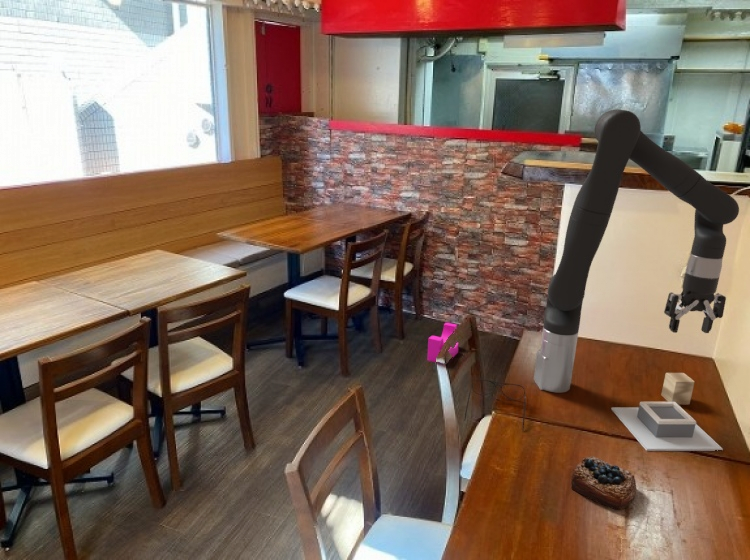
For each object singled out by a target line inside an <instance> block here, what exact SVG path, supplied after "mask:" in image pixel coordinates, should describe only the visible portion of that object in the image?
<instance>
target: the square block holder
mask: <svg viewBox="0 0 750 560" xmlns="http://www.w3.org/2000/svg"><path fill="white" fill-rule="evenodd" d="M611 411H612V413H614V415H616V417H617V418H618V419H619V420H620V422H622V424H623V425H624V426H625V427H626V428H627V430H628V431H629V432H630V433H631V434H632V436H634V438H635V439H636V440H637V441H638V443H639V444H640V445H641V446H642V447H643V448H644V449H645V451H646V452H652V451H653V452H667V451H668V452H680V451H681V452H691V451H693V452H695V451H697V452H701V451H702V452H703V451H704V452H711V451H713V452H715V450H717V452H719V451H718V450H722V451H723V450H724V449H723V447H722V446H721V445H719V444H718V443H717V442H716V441H715V440H714V439H713V438H712V437H711V436H710V435H708V434H707V433H706V432H705V430H703V429H702V428H701V427H700V426H699V425H698V424H697V420H695V419H694V418H693V417H692V416H691V415H690V414H689V413H688V412H687V411H685V410H684V409H683V408H682V407H681V405H678V404H677V403H676V402H668V401H639V406H638V407H630V406H628V407H623V406H622V407H621V406H620V407H617V406H616V407H611Z"/></svg>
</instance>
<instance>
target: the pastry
mask: <svg viewBox="0 0 750 560" xmlns="http://www.w3.org/2000/svg"><path fill="white" fill-rule="evenodd" d="M570 485H571V490H573V491H574V492H576V493H578V494H580V495H582V496H584V497H586V498H587V499H590V500H591V501H592V500H593V501H595V502H596V503H598V504H600V505H603V506H605V507H608V508H610V509H613V510H616V511H622V510H624V509H626V508H627V507H628V506H629V505H630V504H631V503H632V502H633V500H634V499H635V496H636V491H637V482H636V479H635V474H633V473H632V472H631V471H630V470H627V469H625V468H622V467H620V466H618V465H617V464H615V465H613V464H611V463H609V462H606V461H604V460H602V459H600V458H599V457H595V456H588V457H584V458H582V460H581V462H579V463H578V464H577V465H576V466H575V468H574V469H572V475H571V481H570Z"/></svg>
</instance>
